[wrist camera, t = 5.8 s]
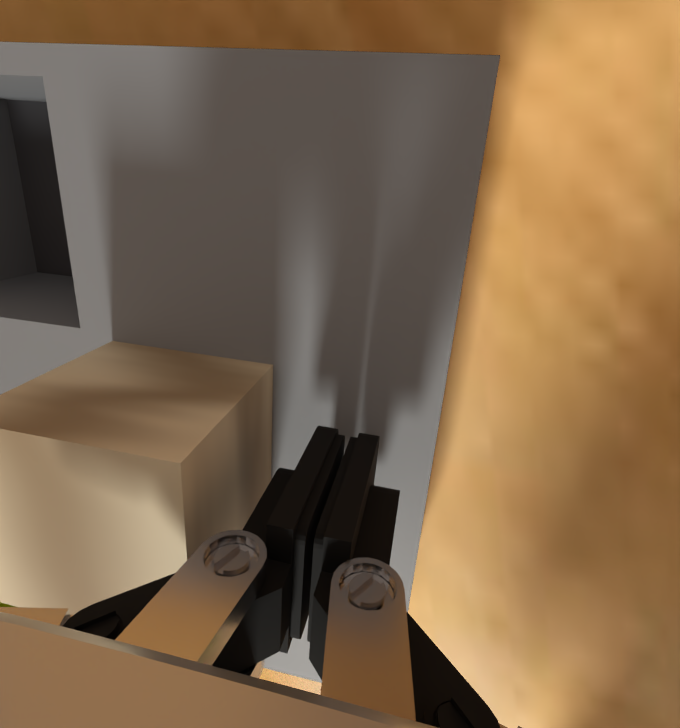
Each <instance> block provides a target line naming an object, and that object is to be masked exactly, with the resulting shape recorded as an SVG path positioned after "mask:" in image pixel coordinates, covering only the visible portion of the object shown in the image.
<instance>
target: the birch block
mask: <svg viewBox="0 0 680 728" xmlns="http://www.w3.org/2000/svg"><path fill="white" fill-rule="evenodd" d="M272 399H273V365H271V364H264V363H258V362H251V361H244V360H237V359H231V358H224V357H217V356H211V355H204V354H197V353H191V352H184V351H177V350H170V349H164V348H157V347H150V346H143V345H137V344H130V343H123V342H117V341H111V342H109V343H107V344H105V345H103V346H101V347H99V348H97V349H95V350H92V351H90V352H88V353H86V354H84V355H82V356H80V357H78V358H76V359H74V360H72V361H70V362H67V363H65V364H63V365H61V366H59V367H57V368H55V369H53V370H51V371H49V372H47V373H45V374H42V375H40V376H38V377H36V378H34V379H32V380H30V381H28V382H26V383H24V384H22V385H20V386H17V387H15V388H13V389H11V390H9V391H7V392H5V393H3V394H1V395H0V602H1V603H5V604H8V605H12V606H16V607H27V608H69V612H70V615H75V614H76V613H77V612H78V611H80V610H82V609H84V608H86V607H88V606H90V605H92V604H94V603H97V602H100V601H102V600H105V599H108V598H110V597H113V596H116V595H118V594H121V593H123V592H126V591H129V590H131V589H134V588H137V587H139V586H142V585H145V584H147V583H150V582H153V581H155V580H158V579H160V578H163V577H166V576H168V575H171V574H174V573H176V572H177V571H178V570H179V569H180V567H181V566H182V565H183V564H184V563H185V562H186V561H187V560H188V559H189V558H190V556H191V555H192V554H193V553H194V552H195V551H196V550H197V549H198V548H199V546H200V545H201V544H202V543H203V542H205V541H206V540H207V539H208V538H209V537H211V536H213V535H215V534H217V533H220V532H224V531H228V530H243V528H244V526H245V524H246V523H247V521H248V519H249V517H250V516H251V514H252V512H253V511H254V509H255V507H256V505H257V504H258V502H259V500H260V498H261V497H262V495H263V493H264V492H265V490H266V488H267V486H268V485H269V483H270V481H271V456H272Z"/></svg>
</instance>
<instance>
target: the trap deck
mask: <svg viewBox="0 0 680 728" xmlns="http://www.w3.org/2000/svg"><path fill="white" fill-rule="evenodd" d="M499 59H500V55H468V54H431V53H395V52H358V51H321V50H284V49H248V48H211V47H174V46H137V45H101V44H64V43H27V42H0V395H1V394H3V393H5V392H7V391H9V390H11V389H13V388H15V387H17V386H20V385H22V384H24V383H26V382H28V381H30V380H32V379H34V378H36V377H38V376H40V375H42V374H45V373H47V372H49V371H51V370H53V369H55V368H57V367H59V366H61V365H63V364H65V363H67V362H70V361H72V360H74V359H76V358H78V357H80V356H82V355H84V354H86V353H88V352H90V351H92V350H95V349H97V348H99V347H101V346H103V345H105V344H107V343H109V342H111V341H117V342H123V343H130V344H137V345H143V346H150V347H157V348H164V349H170V350H177V351H184V352H191V353H197V354H204V355H211V356H217V357H224V358H231V359H237V360H244V361H251V362H258V363H264V364H271V365H273V399H272V456H271V479H272V478H273V476H274V474H275V473H276V471H277V470H278V468H285V469H291V470H295V468H296V466H297V464H298V462H299V460H300V459H301V457H302V455H303V453H304V451H305V449H306V447H307V445H308V443H309V441H310V439H311V437H312V435H313V433H314V432H315V430H316V428H317V426H324V427H330V428H336V429H338V431H339V435H345V446H344V453H345V450H346V447H347V445H348V442H349V439H350V437H356V438H357V437H358V435H359V433H365V434H371V435H377V436H380V439H379V448H378V456H377V464H376V472H375V480H374V485H375V486H380V487H385V488H391V489H396V490H400V496H399V503H398V510H397V516H396V523H395V530H394V537H393V544H392V551H391V558H390V565H389V566H391V567H392V568H393V569H394V570H395V571H396V572H397V573H398V575H399V576H400V578H401V579H402V581H403V585H404V589H405V600H406V611H407V613H408V607H409V601H410V595H411V589H412V583H413V577H414V571H415V565H416V559H417V553H418V547H419V541H420V535H421V529H422V523H423V517H424V511H425V505H426V499H427V493H428V487H429V481H430V475H431V469H432V463H433V457H434V451H435V445H436V438H437V432H438V426H439V420H440V414H441V408H442V402H443V396H444V390H445V384H446V378H447V372H448V366H449V360H450V354H451V348H452V342H453V336H454V330H455V324H456V318H457V312H458V306H459V300H460V294H461V288H462V282H463V276H464V270H465V264H466V258H467V252H468V246H469V240H470V234H471V228H472V222H473V216H474V210H475V204H476V198H477V192H478V186H479V180H480V174H481V168H482V162H483V156H484V150H485V144H486V138H487V132H488V126H489V120H490V114H491V108H492V102H493V96H494V90H495V84H496V78H497V72H498V65H499ZM308 619H309V615H308ZM308 619H307V622H306V625H305V628H304V631H303V634H302V637H301V639H296V638H292V641H291V644H290V647H289V650H288V653H283V652H278V653H276V654H274V655H272V656H270V657H268V658H266V659H265V664H264V667H263V668H266V669H270V670H274V671H278V672H282V673H286V674H290V675H293V676H297V677H301V678H305V679H309V680H313V681H317V682H321V683H322V680H321V679H320V677H319V675H318V673H317V672H316V670H315V668H314V667H313V665H312V663H311V662H310V660H309V649H310V642H308V641H307V633H308Z"/></svg>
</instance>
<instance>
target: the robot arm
mask: <svg viewBox="0 0 680 728" xmlns="http://www.w3.org/2000/svg"><path fill="white" fill-rule="evenodd" d="M379 439H380V436H377V435H371V434H365V433H359V435H358V437H357V438H356V437H350V439H349V442H348V445H347V447H346V450H345V453H344V446H345V435H339V431H338V429H336V428H330V427H324V426H317V428H316V430H315V432H314V433H313V435H312V437H311V439H310V441H309V443H308V445H307V447H306V449H305V451H304V453H303V455H302V457H301V459H300V460H299V462H298V464H297V466H296V468H295V470H291V469H285V468H278V470H277V471H276V473H275V474H274V476H273V478H272V479H271V481H270V483H269V485H268V486H267V488H266V490H265V492H264V493H263V495H262V497H261V498H260V500H259V502H258V504H257V505H256V507H255V509H254V511H253V512H252V514H251V516H250V517H249V519H248V521H247V523H246V524H245V526H244V528H243V530H228V531H224V532H220V533H217V534H215V535H213V536H211V537H209V538H208V539H207V540H206V541H205V542H203V543H202V544H201V545H200V546H199V548H198V549H197V550H196V551H195V552H194V553H193V554H192V555H191V556H190V558H189V559H188V560H187V561H186V562H185V563H184V564H183V565H182V566H181V567H180V569H179V570H178V571H177V572H176V573H174V574H171V575H168V576H166V577H163V578H160V579H158V580H155V581H153V582H150V583H147V584H145V585H142V586H139V587H137V588H134V589H131V590H129V591H126V592H123V593H121V594H118V595H116V596H113V597H110V598H108V599H105V600H102V601H100V602H97V603H94V604H92V605H90V606H88V607H86V608H84V609H82V610H80V611H78V612H77V613H76V614H75V615H70V612H69V608H27V607H0V728H507V727H505V726H503V725H501V724H499V723H498V720H497V718H496V717H495V715H494V714H493V713H492V711H491V710H490V708H489V707H488V705H487V704H486V703H485V702H484V701H483V700H482V698H481V697H480V696H479V695H478V694H477V693H476V691H475V690H474V689H473V688H472V687H471V686H470V684H469V683H468V682H467V681H466V680H465V679H464V678H463V676H462V675H461V674H460V673H459V672H458V671H457V669H456V668H455V667H454V666H453V665H452V664H451V662H450V661H449V660H448V659H447V658H446V657H445V655H444V654H443V653H442V652H441V651H440V650H439V648H438V647H437V646H436V645H435V644H434V643H433V642H432V640H431V639H430V638H429V637H428V636H427V635H426V633H425V632H424V631H423V630H422V629H421V628H420V626H419V625H418V624H417V623H416V622H415V621H414V619H413V618H412V617H411V616H410V615H409V614H408V613H407V611H406V600H405V589H404V585H403V581H402V579H401V578H400V576H399V575H398V573H397V572H396V571H395V570H394V569H393V568H392V567H391V566H389V565H390V558H391V551H392V544H393V537H394V530H395V523H396V516H397V510H398V503H399V496H400V490H396V489H391V488H385V487H380V486H375V485H374V480H375V472H376V464H377V456H378V448H379ZM308 615H309V619H308ZM307 619H308V633H307V641H308V642H310V649H309V660H310V662H311V663H312V665H313V667H314V668H315V670H316V672H317V673H318V675H319V677H320V679H321V680H322V686H321V695H318V694H314V693H311V692H307V691H303V690H300V689H296V688H292V687H289V686H285V685H281V684H277V683H274V682H270V681H266V680H263V679H259V677H260V675H261V673H262V670H263V667H264V664H265V659H266V658H268V657H270V656H272V655H274V654H276V653H278V652H283V653H288V650H289V647H290V644H291V641H292V638H296V639H301V637H302V634H303V631H304V628H305V625H306V622H307ZM518 728H522V727H520V726H518Z"/></svg>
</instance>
